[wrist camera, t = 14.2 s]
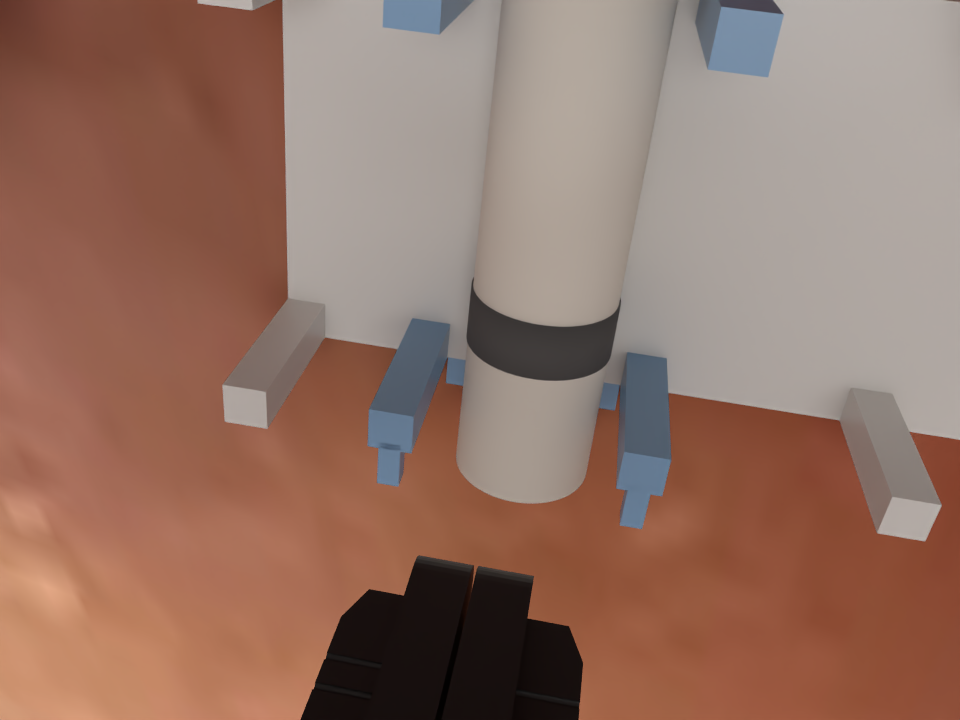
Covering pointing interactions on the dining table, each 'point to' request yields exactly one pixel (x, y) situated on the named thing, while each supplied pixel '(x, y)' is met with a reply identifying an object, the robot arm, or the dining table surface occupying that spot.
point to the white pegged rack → (648, 224)
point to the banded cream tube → (555, 234)
